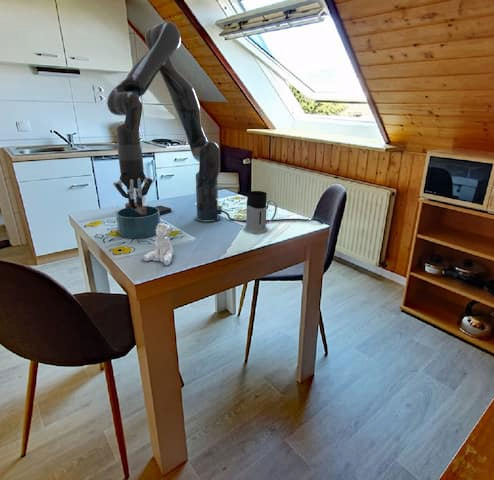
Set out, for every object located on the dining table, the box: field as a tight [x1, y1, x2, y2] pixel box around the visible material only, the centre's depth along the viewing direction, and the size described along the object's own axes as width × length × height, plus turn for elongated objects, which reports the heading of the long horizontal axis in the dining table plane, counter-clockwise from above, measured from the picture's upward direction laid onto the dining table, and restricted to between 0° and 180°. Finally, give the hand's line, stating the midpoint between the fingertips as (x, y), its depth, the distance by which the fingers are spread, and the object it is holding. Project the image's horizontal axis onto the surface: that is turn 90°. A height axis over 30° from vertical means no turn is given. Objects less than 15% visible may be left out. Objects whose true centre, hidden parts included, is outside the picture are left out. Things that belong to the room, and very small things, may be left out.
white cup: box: [133, 185, 147, 206], centre depth 165 cm, size 8×8×10 cm
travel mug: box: [244, 190, 278, 234], centre depth 135 cm, size 9×14×15 cm, turn 44°
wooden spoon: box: [124, 202, 147, 215], centre depth 119 cm, size 13×4×2 cm, turn 37°
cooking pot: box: [115, 205, 161, 239], centre depth 135 cm, size 16×16×8 cm
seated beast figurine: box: [143, 222, 174, 266], centre depth 111 cm, size 10×9×12 cm
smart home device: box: [154, 205, 172, 216], centre depth 156 cm, size 8×2×20 cm
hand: (136, 208), depth 119 cm, fingers closed on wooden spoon
